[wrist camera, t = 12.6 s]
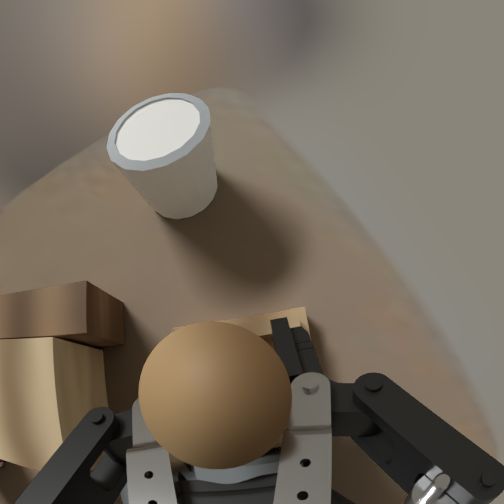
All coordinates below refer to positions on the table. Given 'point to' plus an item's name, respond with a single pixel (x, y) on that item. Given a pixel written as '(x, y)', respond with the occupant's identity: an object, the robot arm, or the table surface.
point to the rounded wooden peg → (215, 395)
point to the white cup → (167, 153)
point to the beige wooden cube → (45, 396)
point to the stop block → (64, 315)
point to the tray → (232, 472)
